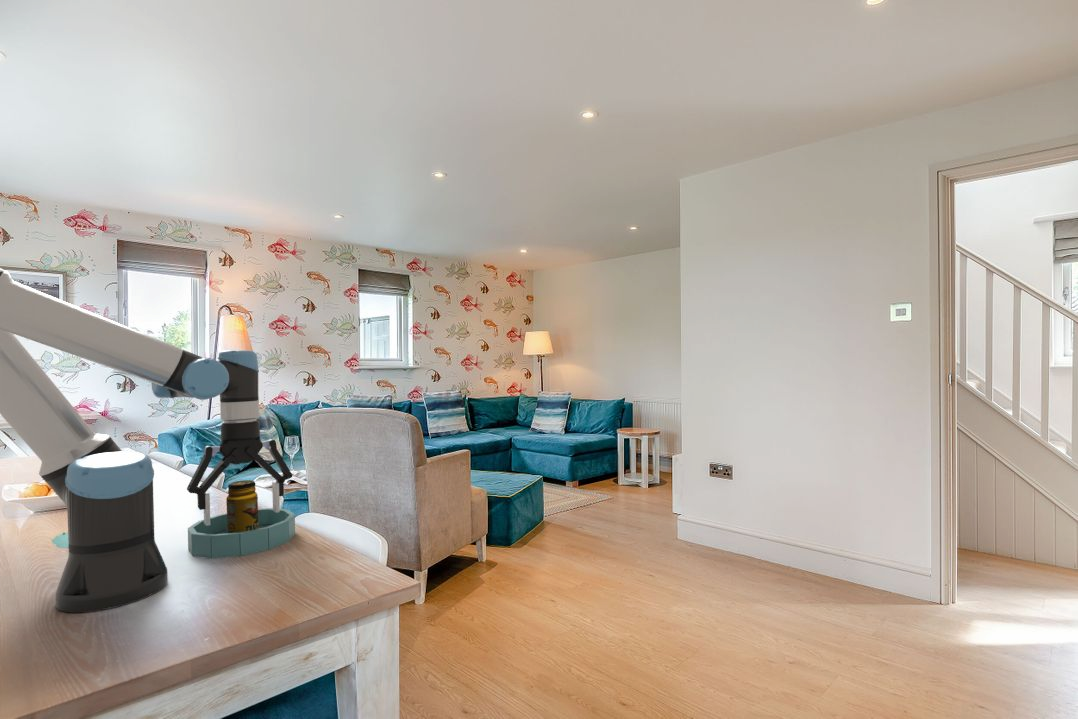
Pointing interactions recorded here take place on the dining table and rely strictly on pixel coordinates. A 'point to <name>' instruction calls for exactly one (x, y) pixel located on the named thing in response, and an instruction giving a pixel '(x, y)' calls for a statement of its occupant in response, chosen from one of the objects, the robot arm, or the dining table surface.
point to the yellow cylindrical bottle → (242, 507)
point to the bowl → (240, 535)
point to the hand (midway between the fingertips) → (243, 517)
